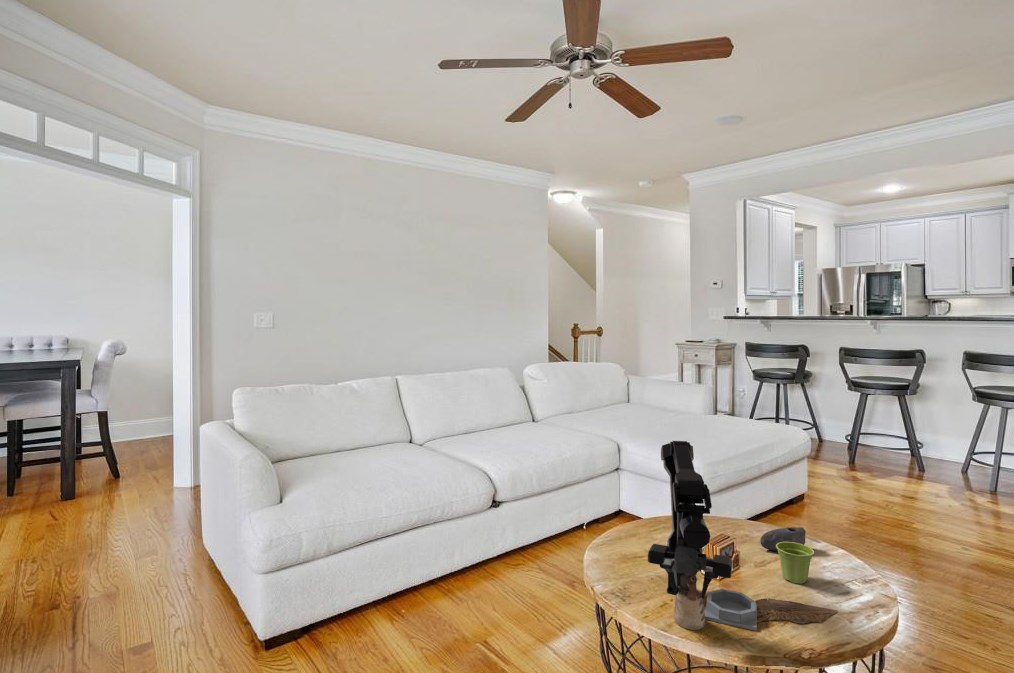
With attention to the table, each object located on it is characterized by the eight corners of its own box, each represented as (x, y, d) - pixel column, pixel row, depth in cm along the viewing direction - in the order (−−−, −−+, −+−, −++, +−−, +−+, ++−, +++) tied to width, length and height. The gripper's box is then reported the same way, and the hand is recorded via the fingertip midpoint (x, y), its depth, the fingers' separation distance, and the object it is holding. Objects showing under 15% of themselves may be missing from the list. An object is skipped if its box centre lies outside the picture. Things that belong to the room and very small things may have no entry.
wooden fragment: (740, 622, 127) (740, 618, 127) (725, 599, 138) (725, 595, 138) (852, 628, 124) (852, 624, 124) (828, 603, 135) (828, 599, 135)
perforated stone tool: (764, 554, 164) (764, 531, 164) (756, 546, 169) (756, 525, 169) (812, 553, 164) (812, 531, 164) (802, 546, 169) (802, 524, 169)
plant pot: (771, 569, 153) (771, 540, 153) (807, 572, 151) (807, 542, 151) (781, 585, 144) (781, 554, 144) (819, 588, 142) (819, 556, 142)
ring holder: (703, 619, 128) (703, 606, 128) (708, 596, 138) (708, 585, 138) (756, 631, 123) (756, 618, 123) (757, 606, 133) (757, 595, 133)
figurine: (701, 614, 130) (701, 566, 130) (708, 631, 123) (708, 580, 122) (671, 612, 131) (671, 565, 130) (676, 629, 124) (677, 578, 123)
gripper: (643, 536, 123) (643, 602, 123) (729, 551, 115) (729, 621, 115) (652, 520, 133) (652, 581, 133) (732, 532, 125) (731, 597, 125)
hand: (689, 595), depth 127 cm, fingers closed on figurine, 6 cm apart
